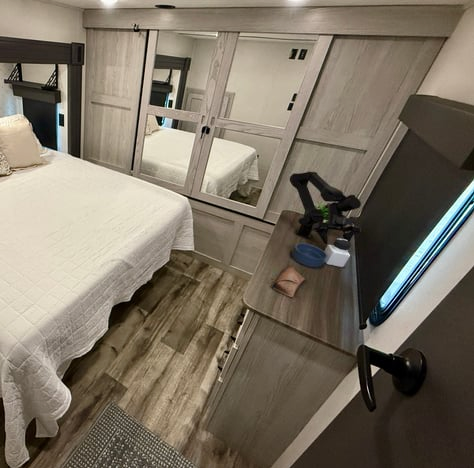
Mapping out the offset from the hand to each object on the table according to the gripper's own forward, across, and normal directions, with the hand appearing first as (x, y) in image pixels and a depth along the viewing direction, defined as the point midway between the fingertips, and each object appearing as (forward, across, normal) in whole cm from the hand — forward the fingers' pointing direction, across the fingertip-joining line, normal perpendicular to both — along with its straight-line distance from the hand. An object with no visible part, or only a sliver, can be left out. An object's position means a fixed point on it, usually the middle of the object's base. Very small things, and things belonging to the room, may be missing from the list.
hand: (336, 245), depth 133 cm
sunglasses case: (+23, -28, -12) cm, 39 cm away
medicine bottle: (+8, 0, +4) cm, 8 cm away
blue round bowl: (+8, -12, +3) cm, 15 cm away
